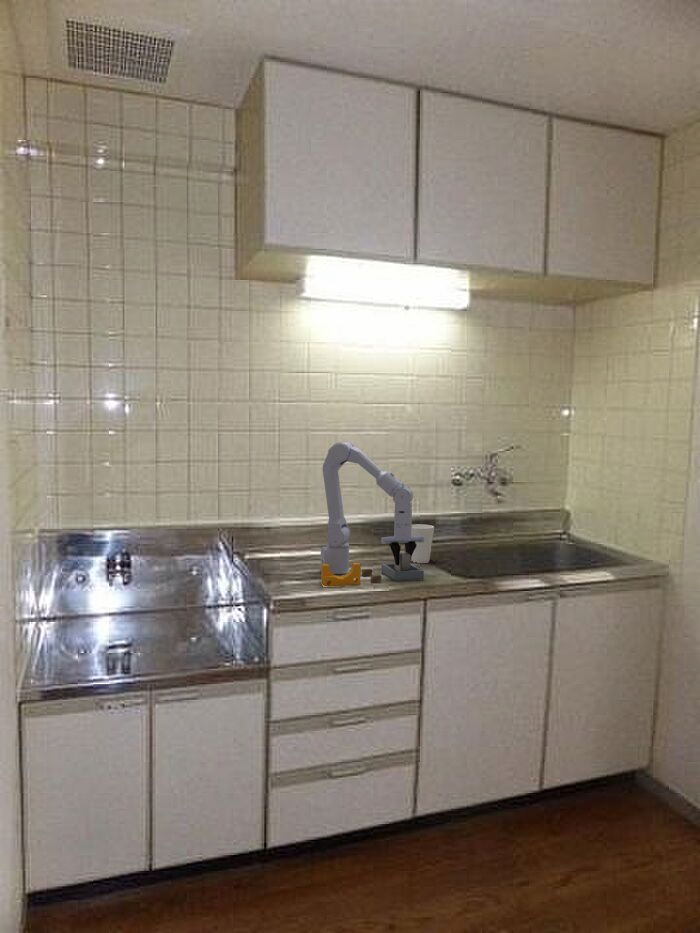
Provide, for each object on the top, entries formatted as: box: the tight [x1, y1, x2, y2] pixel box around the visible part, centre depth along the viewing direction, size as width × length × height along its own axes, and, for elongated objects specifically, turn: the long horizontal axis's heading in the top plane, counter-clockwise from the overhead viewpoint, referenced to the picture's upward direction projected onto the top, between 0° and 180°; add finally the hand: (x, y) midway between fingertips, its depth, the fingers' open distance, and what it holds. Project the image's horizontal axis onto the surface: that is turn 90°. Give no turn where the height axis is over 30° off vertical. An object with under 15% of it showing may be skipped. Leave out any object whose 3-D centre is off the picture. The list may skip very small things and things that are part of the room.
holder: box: [361, 568, 382, 584], centre depth 214 cm, size 3×11×2 cm, turn 16°
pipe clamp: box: [320, 562, 362, 587], centre depth 206 cm, size 12×4×6 cm, turn 104°
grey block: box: [393, 550, 411, 571], centre depth 218 cm, size 3×7×6 cm, turn 16°
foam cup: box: [411, 524, 435, 564], centre depth 242 cm, size 10×9×13 cm
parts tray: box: [381, 562, 425, 582], centre depth 218 cm, size 10×13×3 cm
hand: (402, 564), depth 218 cm, fingers closed on grey block, 3 cm apart
